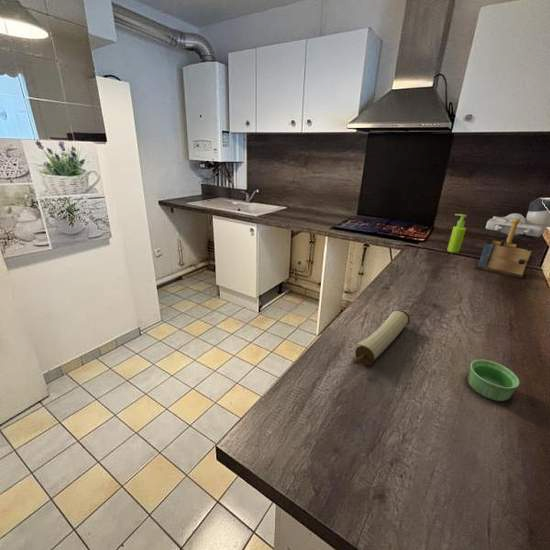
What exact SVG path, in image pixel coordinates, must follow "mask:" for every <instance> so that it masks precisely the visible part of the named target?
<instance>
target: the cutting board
mask: <svg viewBox="0 0 550 550" xmlns="http://www.w3.org/2000/svg"><path fill="white" fill-rule="evenodd" d="M492 241H494V238H493V237H489V236H488V237H487V240H486V242H485V243H484V246H483V249H482V252H481V256H480V258H479V262H478V263H477V265H476V268H475V269H476V270H481V271H484V272H489V273H494V274H499V275H502V276H507V277H512V278H517V279H521V280H522V279H523V278H524V272H525V270H526V266H527V264H528V262H529V259H530V257H531V254H532V252H533V251H532V249H533V247H534V245H533V244H532V243H529V244H528V245H527V248H526V249H525V248H519V247H516V248H515V247H509V246H503V245H504V243H506V239H501V240H500V242H501V244H500V245H498V244H492Z"/></svg>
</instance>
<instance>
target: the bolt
mask: <svg viewBox="0 0 550 550" xmlns="http://www.w3.org/2000/svg"><path fill="white" fill-rule="evenodd" d="M512 223H513V224H512V227H511V229H510V232H509V235H507V238H506V239H505V243H504V245H503V246H508V247H514V248H517V244H516V243H512V242H513V238H514V236H515V235H514V233H515V231H516V228H517V225H518V224H519V223H520V219H518V218H515V219H513V220H512ZM492 244H493V245H495V244H497V245H500V244H501V241H499V240H493V241H492Z"/></svg>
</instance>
